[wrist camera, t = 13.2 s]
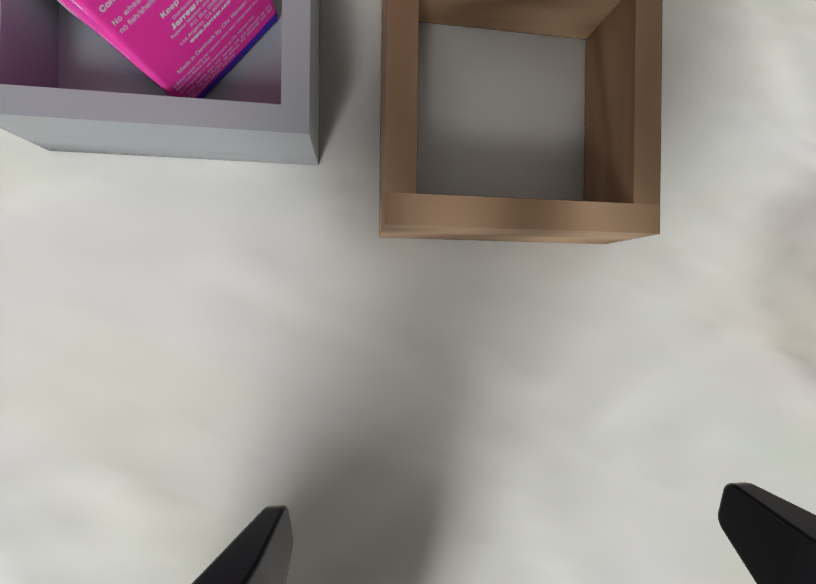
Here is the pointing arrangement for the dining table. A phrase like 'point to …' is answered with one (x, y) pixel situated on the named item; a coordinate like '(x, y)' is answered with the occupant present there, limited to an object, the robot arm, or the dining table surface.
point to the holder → (604, 124)
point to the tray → (158, 92)
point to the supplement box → (179, 36)
